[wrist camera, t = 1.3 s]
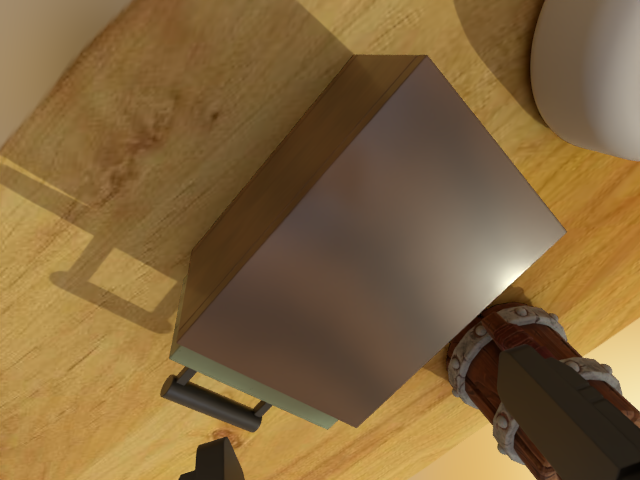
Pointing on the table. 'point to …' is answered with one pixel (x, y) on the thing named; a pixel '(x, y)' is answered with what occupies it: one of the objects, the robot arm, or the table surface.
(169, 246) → the table surface
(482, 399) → the mug
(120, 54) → the table surface
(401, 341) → the cabinet
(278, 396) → the drawer
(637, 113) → the fat ring
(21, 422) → the table surface
